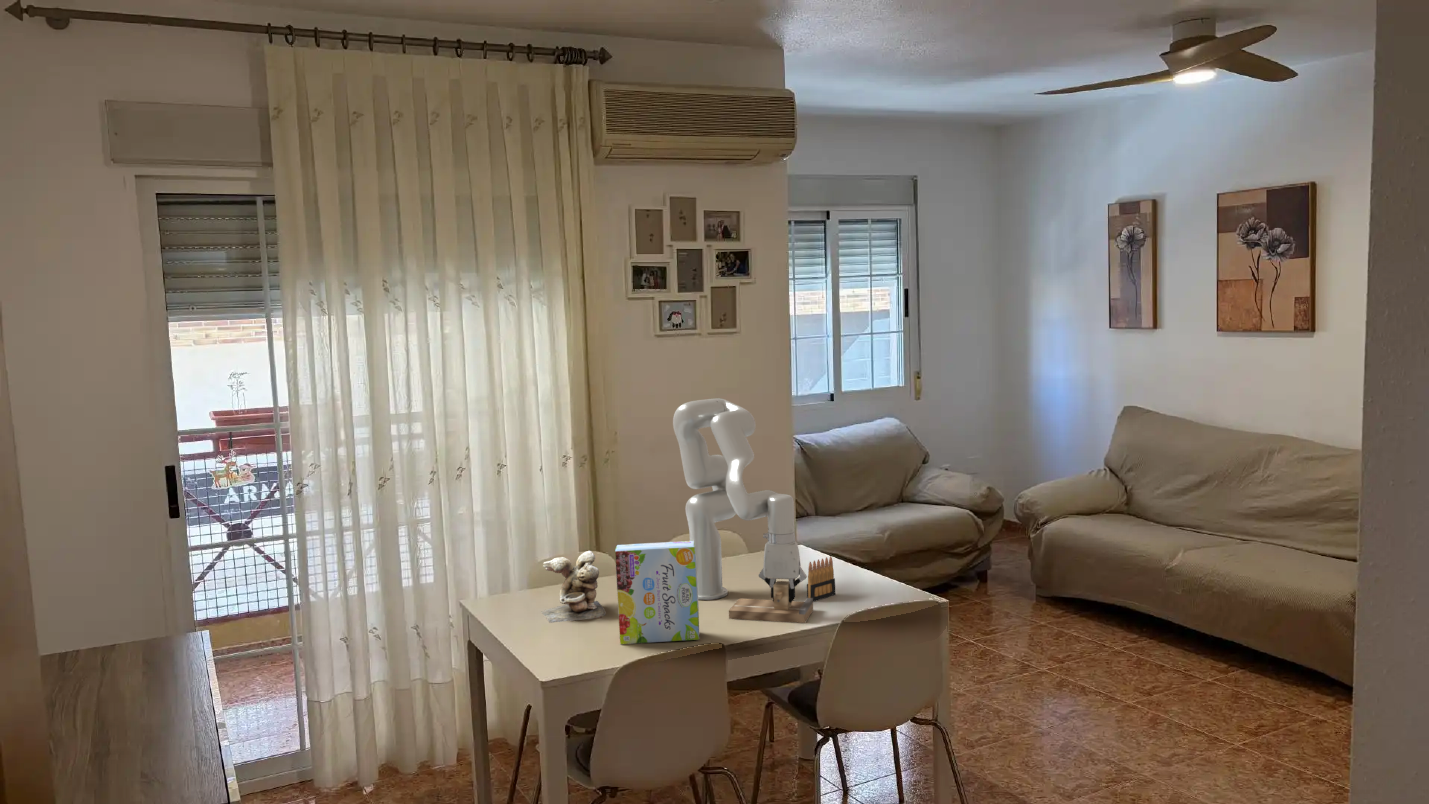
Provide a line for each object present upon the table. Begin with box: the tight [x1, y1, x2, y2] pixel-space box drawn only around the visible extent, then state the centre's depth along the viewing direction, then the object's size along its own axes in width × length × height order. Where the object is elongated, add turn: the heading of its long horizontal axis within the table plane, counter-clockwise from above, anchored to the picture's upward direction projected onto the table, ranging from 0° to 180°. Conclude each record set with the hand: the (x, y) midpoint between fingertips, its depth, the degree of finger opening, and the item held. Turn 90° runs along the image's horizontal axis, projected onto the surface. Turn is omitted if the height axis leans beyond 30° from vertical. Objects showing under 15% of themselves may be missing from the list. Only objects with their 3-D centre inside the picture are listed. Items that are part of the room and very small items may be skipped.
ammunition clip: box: [806, 556, 837, 602], centre depth 321 cm, size 11×2×12 cm, turn 131°
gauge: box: [773, 580, 792, 610], centre depth 304 cm, size 4×11×7 cm, turn 164°
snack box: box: [614, 540, 700, 645], centre depth 288 cm, size 22×9×26 cm, turn 93°
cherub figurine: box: [541, 550, 607, 624], centre depth 314 cm, size 18×18×18 cm
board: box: [728, 597, 814, 624], centre depth 307 cm, size 22×12×4 cm, turn 74°
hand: (783, 600), depth 305 cm, fingers closed on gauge, 4 cm apart
